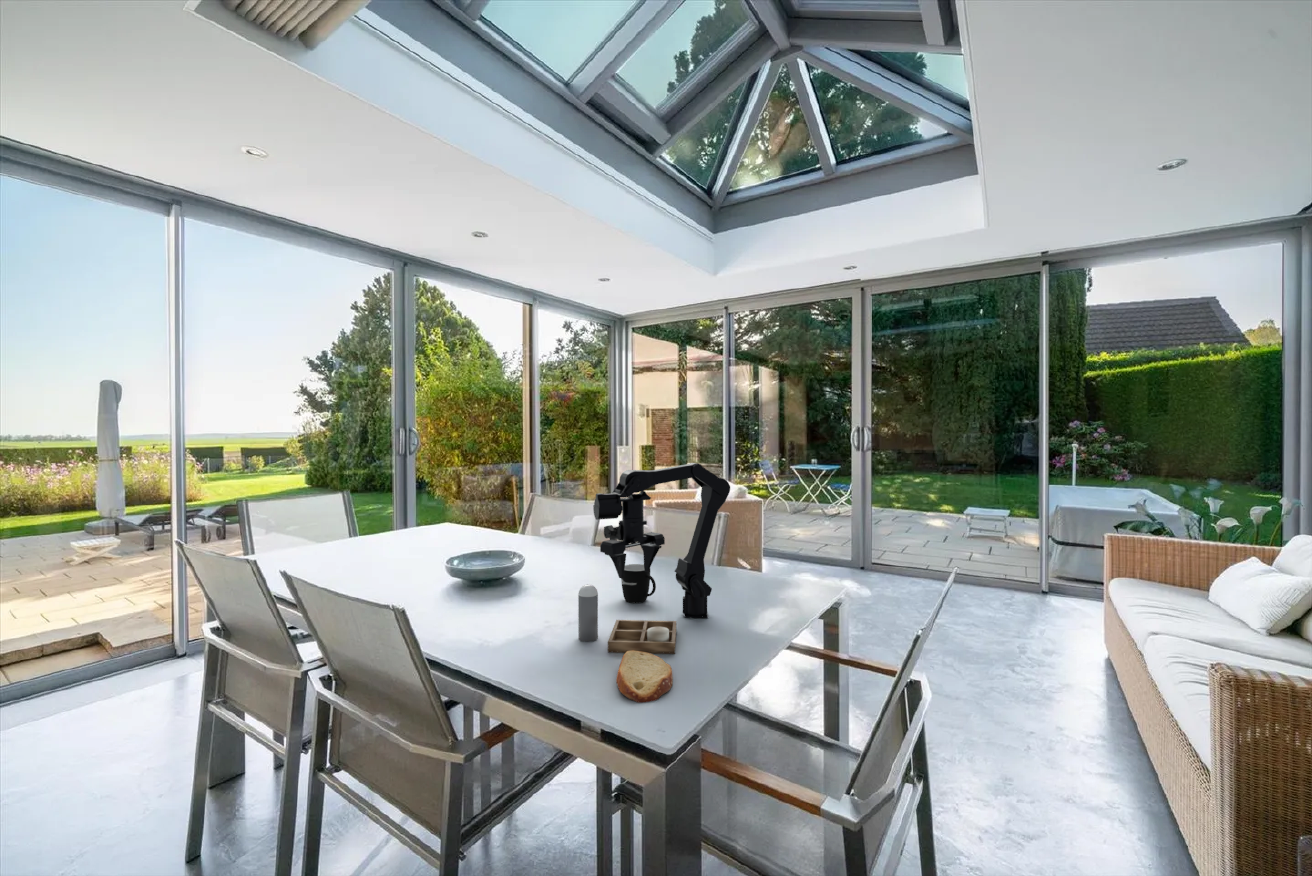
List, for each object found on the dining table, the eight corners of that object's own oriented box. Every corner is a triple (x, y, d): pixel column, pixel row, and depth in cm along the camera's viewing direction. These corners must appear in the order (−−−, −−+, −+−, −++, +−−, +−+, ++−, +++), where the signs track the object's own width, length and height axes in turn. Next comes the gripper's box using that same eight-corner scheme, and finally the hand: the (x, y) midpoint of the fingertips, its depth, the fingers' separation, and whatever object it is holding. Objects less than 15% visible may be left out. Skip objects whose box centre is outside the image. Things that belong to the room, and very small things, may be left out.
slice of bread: (635, 656, 131) (635, 639, 131) (699, 677, 120) (699, 659, 120) (578, 682, 117) (578, 664, 117) (644, 709, 106) (644, 688, 106)
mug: (614, 601, 173) (614, 568, 173) (633, 594, 180) (633, 562, 180) (645, 608, 165) (645, 573, 165) (664, 601, 172) (664, 568, 172)
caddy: (676, 630, 147) (676, 615, 147) (674, 654, 131) (674, 636, 131) (616, 629, 148) (616, 614, 148) (607, 652, 132) (607, 635, 132)
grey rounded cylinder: (599, 635, 143) (599, 582, 143) (596, 642, 139) (596, 587, 139) (580, 634, 144) (580, 582, 144) (576, 641, 139) (576, 587, 139)
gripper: (638, 510, 165) (639, 564, 165) (586, 518, 152) (588, 576, 152) (665, 514, 157) (666, 570, 157) (613, 522, 144) (614, 583, 144)
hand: (633, 574), depth 153 cm, fingers open, 9 cm apart
